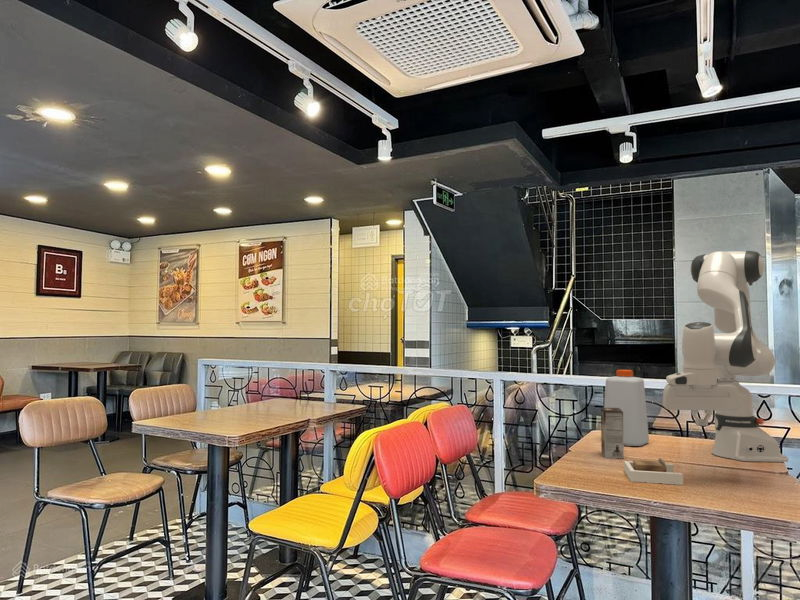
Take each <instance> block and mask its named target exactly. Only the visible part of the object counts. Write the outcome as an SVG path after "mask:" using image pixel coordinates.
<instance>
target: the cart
mask: <svg viewBox="0 0 800 600" xmlns="http://www.w3.org/2000/svg"><path fill="white" fill-rule="evenodd" d="M632 462H633V469H634V470H637V471H654V472H666V465H665V464H666V461H664V460H663V459H662V458H661V457H660V458H659V457H658V460H640V459H639V460H637V459H633V461H632Z"/></svg>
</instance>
